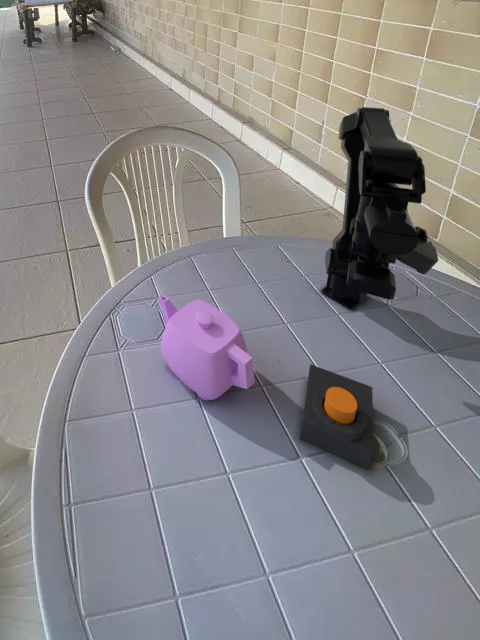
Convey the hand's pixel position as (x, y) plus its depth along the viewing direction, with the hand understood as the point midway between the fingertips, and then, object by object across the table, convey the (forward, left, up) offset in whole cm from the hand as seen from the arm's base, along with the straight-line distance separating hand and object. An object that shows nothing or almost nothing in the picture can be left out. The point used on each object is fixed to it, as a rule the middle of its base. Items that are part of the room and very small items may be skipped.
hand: (362, 292), depth 75 cm
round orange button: (+7, -18, -7) cm, 21 cm away
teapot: (-13, -26, -13) cm, 32 cm away
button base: (+6, -16, -13) cm, 21 cm away
